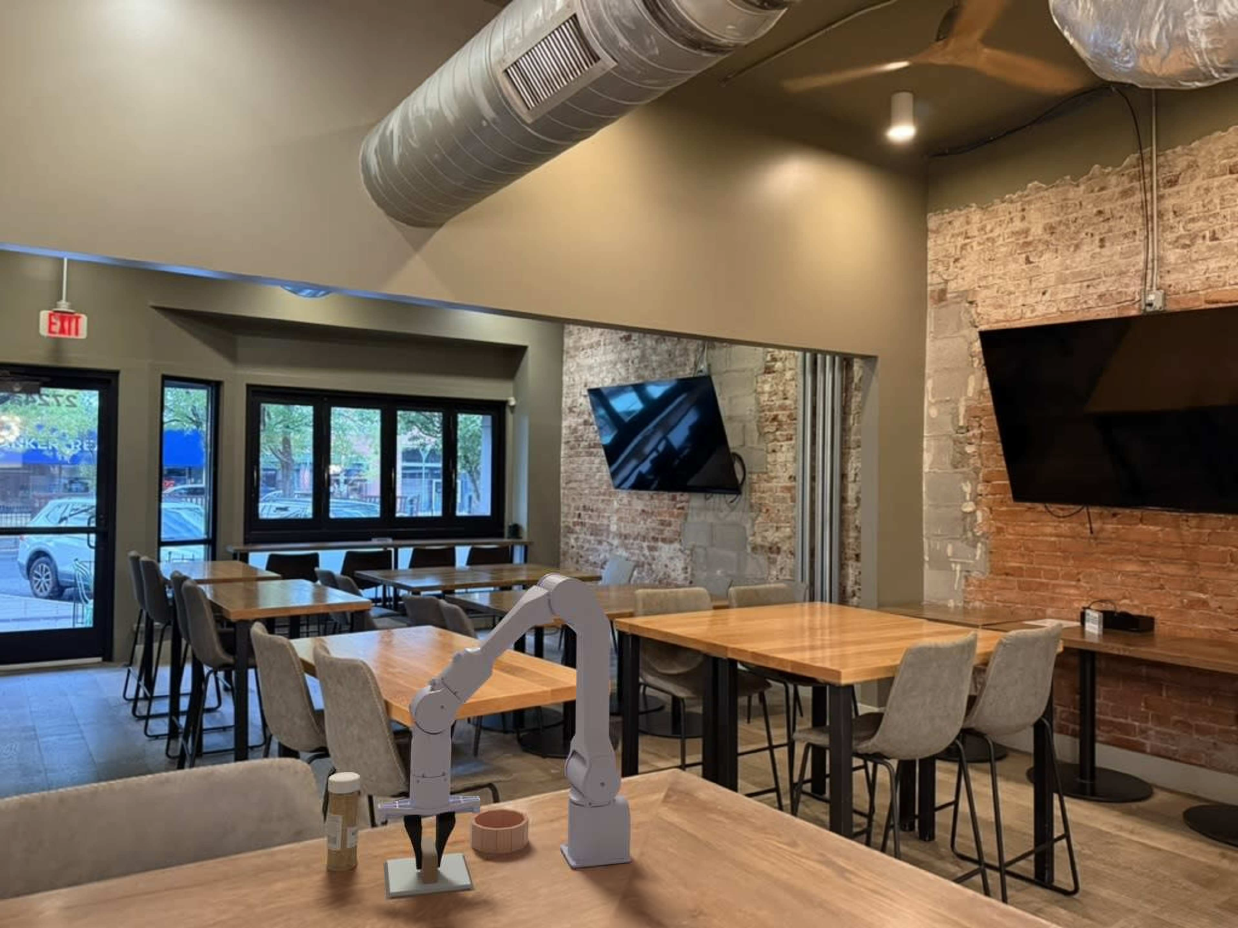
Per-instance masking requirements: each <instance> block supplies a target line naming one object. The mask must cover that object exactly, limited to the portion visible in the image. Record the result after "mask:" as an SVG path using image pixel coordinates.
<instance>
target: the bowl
mask: <svg viewBox="0 0 1238 928" xmlns="http://www.w3.org/2000/svg"><path fill="white" fill-rule="evenodd" d="M529 819H530V818H529V817H528V814H527V813H525V812H523V811H520V810H518V809H512V808H511V809H510V808H493V809H492V808H491V809H490V808H489V809H485V810H482V811H480V813H478V814H473V815H472V816H471V817H470V823H469V824H470V827H469V844H470V846H471V848H472V849H474V850H476V851H478V852H481V853H487V854H493V855H494V854H495V855H497V854H498V855H499V854H507V853H508V854H509V853H513V852H517V851H520V850H522V849H524V848H525V847H526V845H527V844H528V843H529V823H530V821H529Z"/></svg>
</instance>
